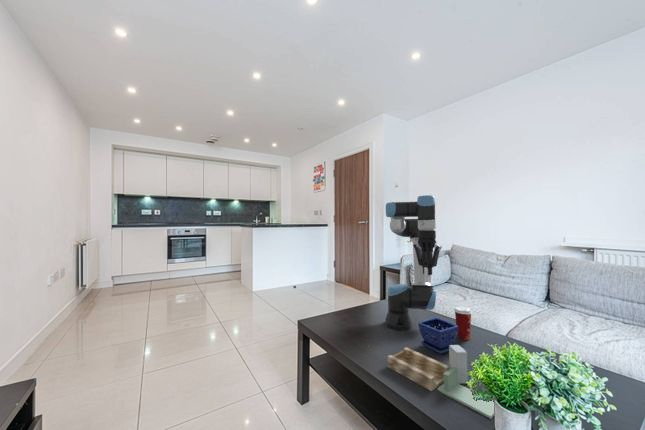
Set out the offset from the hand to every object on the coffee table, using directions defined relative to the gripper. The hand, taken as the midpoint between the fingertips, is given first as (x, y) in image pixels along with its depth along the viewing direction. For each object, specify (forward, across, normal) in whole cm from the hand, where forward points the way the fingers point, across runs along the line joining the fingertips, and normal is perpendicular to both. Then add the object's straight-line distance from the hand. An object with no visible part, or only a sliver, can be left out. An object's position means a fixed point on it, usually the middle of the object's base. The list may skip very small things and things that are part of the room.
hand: (427, 281), depth 119 cm
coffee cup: (+35, -1, +33) cm, 48 cm away
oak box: (+34, +3, -14) cm, 37 cm away
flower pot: (+35, -2, +12) cm, 37 cm away
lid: (+35, +23, -14) cm, 44 cm away
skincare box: (+35, +15, -5) cm, 38 cm away
